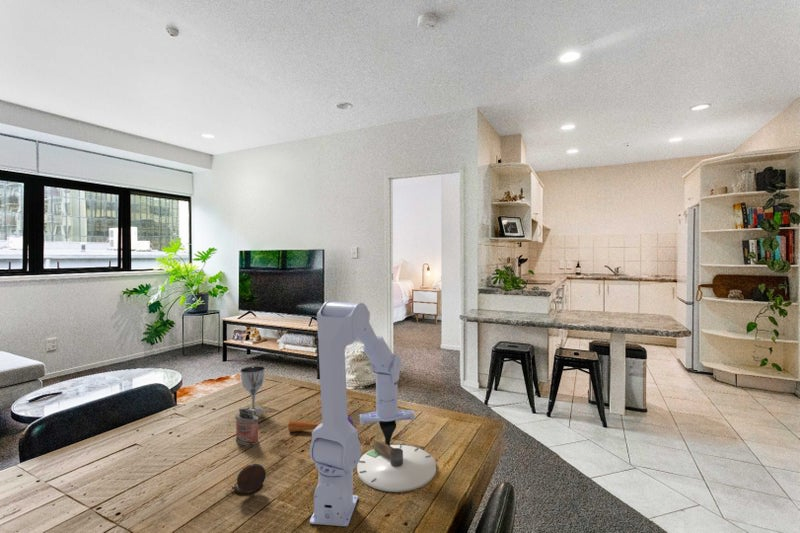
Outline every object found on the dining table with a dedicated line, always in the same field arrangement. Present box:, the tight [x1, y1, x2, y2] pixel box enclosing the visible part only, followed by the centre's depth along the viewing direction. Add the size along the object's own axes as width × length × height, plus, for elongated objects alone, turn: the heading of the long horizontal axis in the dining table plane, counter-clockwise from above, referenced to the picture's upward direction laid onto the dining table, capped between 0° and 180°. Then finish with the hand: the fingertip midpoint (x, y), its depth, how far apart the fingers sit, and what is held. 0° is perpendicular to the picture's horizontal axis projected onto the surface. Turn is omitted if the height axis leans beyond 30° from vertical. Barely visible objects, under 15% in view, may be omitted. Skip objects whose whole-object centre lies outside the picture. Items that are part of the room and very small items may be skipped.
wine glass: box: [240, 365, 266, 416], centre depth 134 cm, size 8×8×15 cm
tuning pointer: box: [373, 437, 403, 466], centre depth 101 cm, size 11×3×3 cm, turn 41°
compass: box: [225, 462, 267, 495], centre depth 89 cm, size 8×8×7 cm
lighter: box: [235, 406, 260, 447], centre depth 112 cm, size 8×3×10 cm, turn 62°
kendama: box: [287, 416, 354, 433], centre depth 118 cm, size 6×6×20 cm
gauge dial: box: [356, 444, 437, 493], centre depth 98 cm, size 20×20×1 cm
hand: (387, 447), depth 103 cm, fingers closed
